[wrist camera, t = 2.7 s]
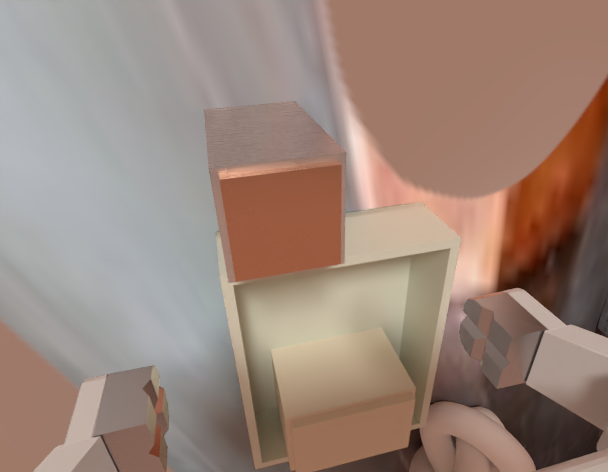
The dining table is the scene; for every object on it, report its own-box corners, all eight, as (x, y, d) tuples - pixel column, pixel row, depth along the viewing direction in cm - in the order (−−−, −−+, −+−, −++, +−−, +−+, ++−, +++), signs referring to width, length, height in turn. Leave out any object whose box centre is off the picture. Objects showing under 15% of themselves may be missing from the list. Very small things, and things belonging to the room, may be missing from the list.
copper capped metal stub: (295, 101, 22) (349, 155, 14) (299, 183, 25) (347, 268, 17) (204, 109, 21) (208, 172, 14) (218, 194, 24) (229, 289, 16)
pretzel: (398, 392, 38) (448, 488, 31) (509, 368, 40) (580, 452, 33) (387, 460, 44) (427, 556, 36) (485, 436, 46) (541, 521, 39)
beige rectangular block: (381, 327, 32) (420, 395, 27) (377, 377, 35) (411, 448, 30) (270, 349, 31) (287, 427, 25) (276, 400, 34) (292, 479, 28)
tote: (421, 201, 28) (461, 237, 23) (399, 377, 37) (425, 426, 33) (215, 232, 25) (220, 278, 21) (247, 412, 34) (255, 469, 30)
